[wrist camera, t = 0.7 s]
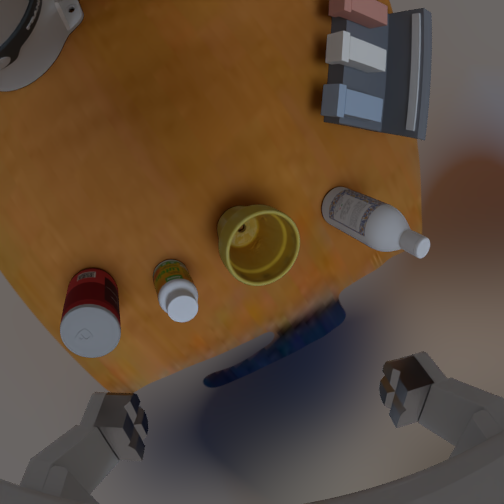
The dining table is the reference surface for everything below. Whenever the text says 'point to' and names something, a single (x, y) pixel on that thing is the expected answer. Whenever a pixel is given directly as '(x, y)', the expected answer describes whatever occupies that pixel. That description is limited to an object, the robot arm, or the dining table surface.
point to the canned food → (91, 314)
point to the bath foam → (372, 222)
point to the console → (392, 73)
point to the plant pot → (257, 243)
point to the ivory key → (354, 53)
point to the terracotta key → (360, 12)
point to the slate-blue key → (350, 103)
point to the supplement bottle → (175, 290)
